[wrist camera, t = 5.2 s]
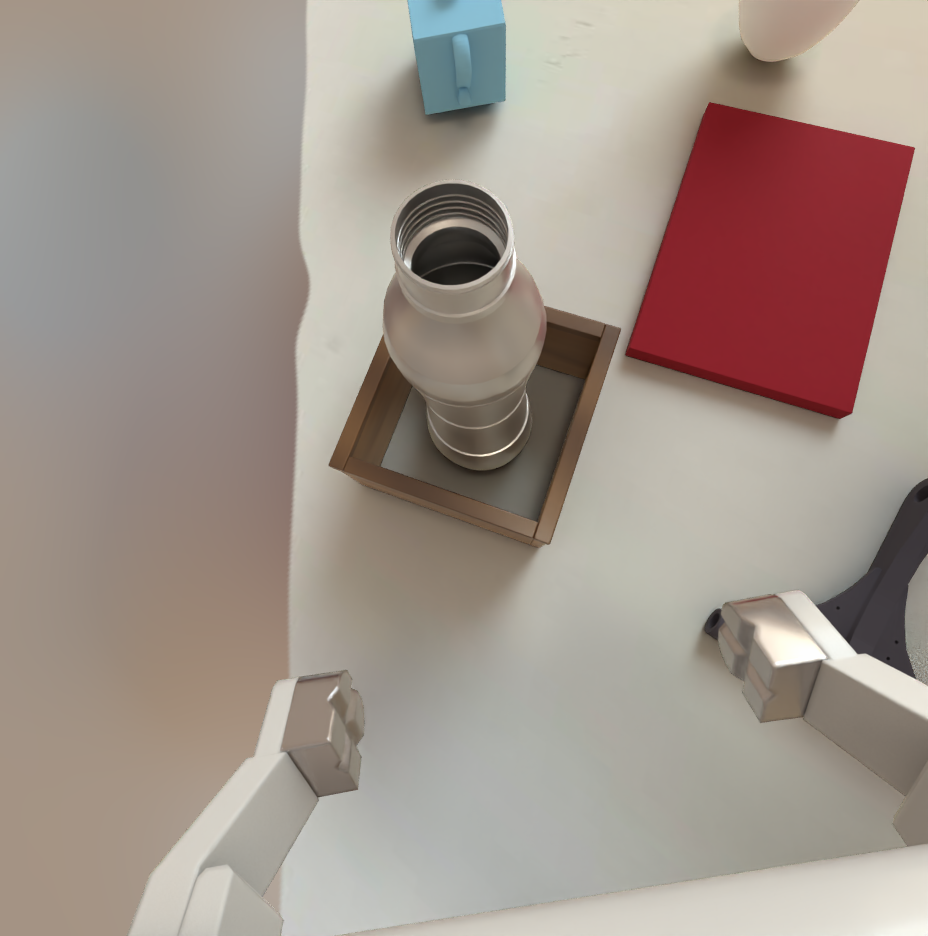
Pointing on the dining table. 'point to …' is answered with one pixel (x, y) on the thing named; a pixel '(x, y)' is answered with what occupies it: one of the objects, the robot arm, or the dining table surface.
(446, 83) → the teapot
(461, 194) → the metal bottle
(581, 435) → the wooden box
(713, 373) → the cushion mat
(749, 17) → the white air blower bulb
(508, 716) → the dining table surface
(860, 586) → the squeegee
